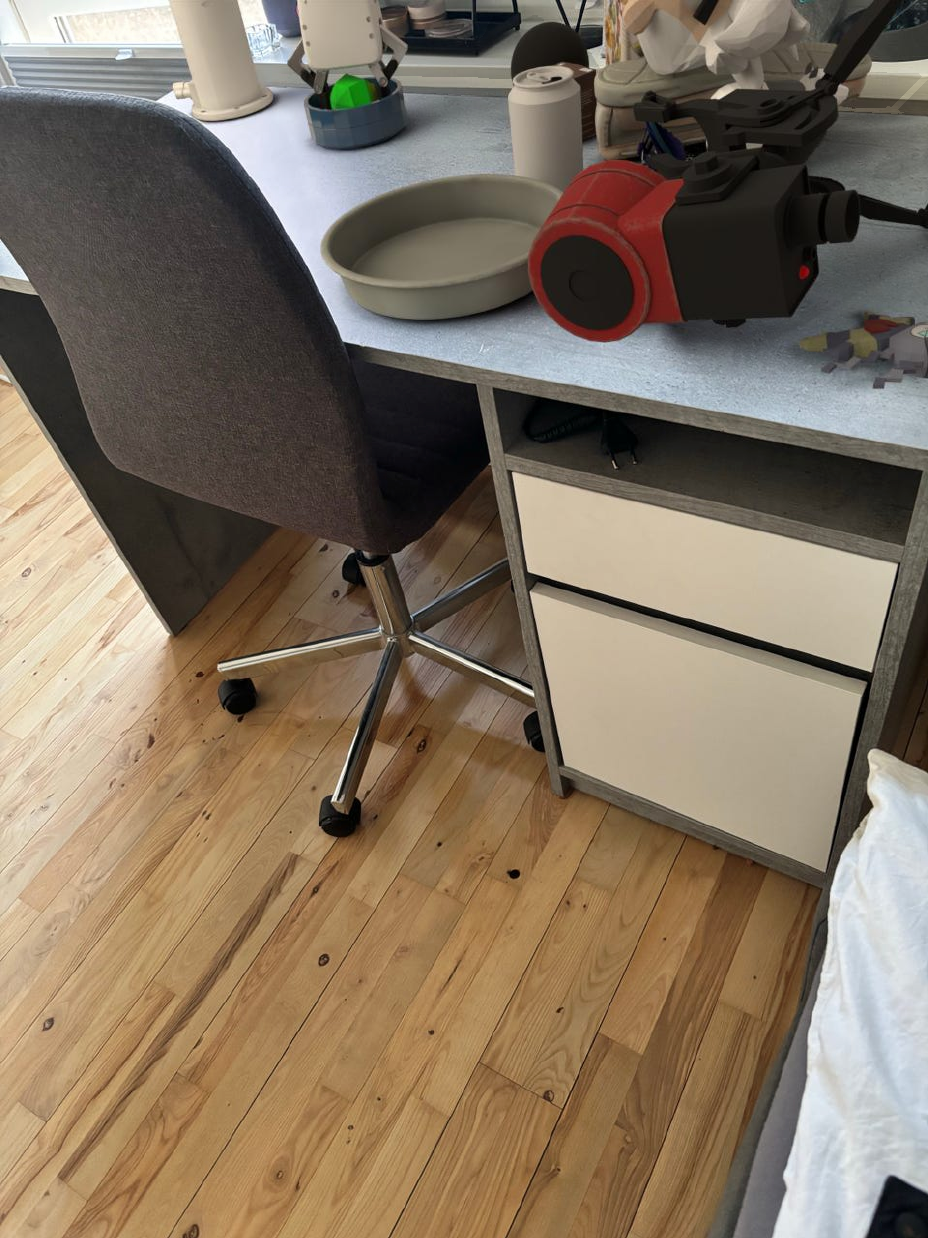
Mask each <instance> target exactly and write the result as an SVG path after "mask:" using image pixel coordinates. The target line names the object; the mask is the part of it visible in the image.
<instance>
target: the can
mask: <svg viewBox="0 0 928 1238" xmlns="http://www.w3.org/2000/svg"><path fill="white" fill-rule="evenodd" d="M572 77H573V71H572V70H571V69H570V68H567V67H563V66H546V67H538V68H534V69H530V70H527V71H524V72H521V73H520V74H518V75H516V76H515V77H514V78H513V83H512V85H513V84H514V85H515V86H513V87H512V88H511V89H510V91H509V93H508V97H507V102H508V113H509V124H510V136H511V146H512V156H513V157H512V158H513V168H514V175H515V176H522V177H527V178H532V179H536V180H540V181H543V182H545V183H548V184H550V185H553V186H554V187H556V188H558V189H560V190H561V191H562V192H563V193H564V191H565V190H566V188H567V187H568V185H569V184H570V183H571V181H572V180H573V179H574V177H575V176H576V175H577V174H579V173H580V172H582V171H583V170H584V153H583V150H584V149H583V140H582V124H581V99H580V85H579V84H578V83H577V82H576V81H575V80H574V79H573V78H572Z"/></svg>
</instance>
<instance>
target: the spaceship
mask: <svg viewBox="0 0 928 1238" xmlns="http://www.w3.org/2000/svg"><path fill="white" fill-rule="evenodd" d="M646 126H647V127H646V131H645V135H646V132H647V131H648V132H647V135H646V139H645V135H644V138H643V141H642V143H641V142H639V145H638V150H637V154H638V155H639V156H638V157H640V159H641V163H640V164H641V165H644V166H647V167H648V168H650V169H652V170H653V171H655V172H657V169H655V168H653V167H651V166H649V165H648V163H647V159H646V158H647V156H652V155H658V154H665V153H668V154H669V155H671V156H673V157H674V158H676V159H678V160H681V161H682V160H687V155H686V152H685V147H684V146H682V144H681V142H680V140H679V139H677V138H676V137H674V136H673V134H672V132H671V131H670V132H669V133H668V131H667V129H666V128H665V129H663V127H662V125H661V124H658V123H656V122H646ZM649 137H650V139H649ZM644 139H645V142H644ZM648 140H649V141H648ZM647 142H648V144H647ZM646 145H647V147H646ZM653 145H654V146H653ZM652 147H653V148H652Z"/></svg>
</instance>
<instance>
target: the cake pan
mask: <svg viewBox="0 0 928 1238" xmlns="http://www.w3.org/2000/svg"><path fill="white" fill-rule="evenodd" d="M562 194H563V192H562V191H561V190H560V189H558V188H556V187H554V186H553V185H550V184H548V183H545V182H543V181H540V180H536V179H532V178H527V177H522V176H515V174H504V173H503V174H502V173H474V174H459V175H452V176H445V177H439V178H435V179H429V180H425V181H420V182H416V183H411V184H408V185H405V186H401V187H398V188H394V189H392V190H389V191H386V192H384V193H382V194H379V195H376V196H373V197H372V198H370V199H367V200H366V201H364V202H361V203H360V204H358V205H356V206H354V207H352V208H351V209H350V210H348V211H347V212H344V213H343V215H341V216H339V218H337V219H336V220H335V221H334V222H333V223H332V224H331V225H330V226H329V227H328V229H327V230H326V231H325V233H324V235H323V237H322V239H321V242H320V246H319V247H320V248H319V249H320V250H319V251H320V255H321V256H320V257H321V258H322V260H323V262H324V263H325V265H326V266H327V267H328V268H329V269H331V270H332V272H334V273H335V274H337V275H338V276H339V277H340V278H341V280H342V282H343V284H344V285H345V288H346V290H347V292H348V294H349V295H350V297H351V298H352V299H353V301H355V303H357V304H358V305H359V306H361V308H364V309H366V310H367V311H370V312H372V313H375V314H377V315H381V316H386V317H390V318H396V319H402V320H415V321H416V320H417V321H418V320H419V321H427V320H429V321H430V320H431V321H432V320H445V319H454V318H461V317H466V316H471V315H474V314H475V315H476V314H480V313H483V312H488V311H491V310H494V309H497V308H500V307H503V306H505V305H507V304H510V303H512V302H514V301H517V300H518V299H520V298H523V297H525V296H526V295H528V294H530V293H531V292H534V291H533V289H532V287H531V283H530V279H529V274H528V254H529V251H530V248H531V245H532V242H533V240H534V238H535V237H536V235H537V234H538V232H539V231H540V229H541V227H542V226H543V224H544V223H545V221H546V220H547V218H548V216H549V215H550V213H551V212H552V210H553V208H554V207H555V205H556V204H557V202H558V201H559V199H560V197H561V196H562Z"/></svg>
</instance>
